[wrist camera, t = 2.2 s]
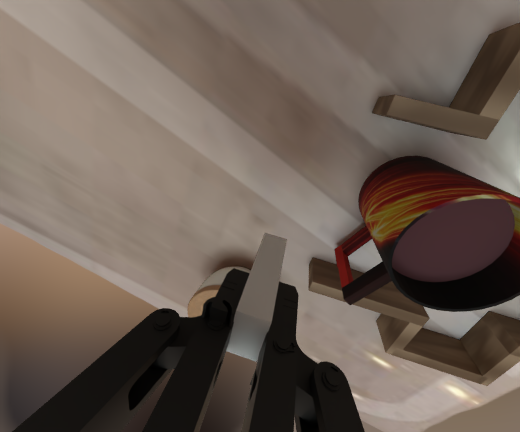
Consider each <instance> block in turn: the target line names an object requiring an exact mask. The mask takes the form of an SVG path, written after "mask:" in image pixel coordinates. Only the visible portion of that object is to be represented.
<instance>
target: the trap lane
mask: <svg viewBox="0 0 520 432" xmlns="http://www.w3.org/2000/svg"><path fill="white" fill-rule="evenodd" d="M519 90H520V23H517V24H515V25H512V26H510V27H507V28H505V29H502V30H500V31H497V32H495V33H492V34H490V35H489V36H488V38H487V40H486V42H485V43H484V45H483V47H482V49H481V51H480V52H479V54H478V56H477V58H476V60H475V61H474V63H473V65H472V67H471V69H470V70H469V72H468V74H467V76H466V78H465V80H464V81H463V83H462V85H461V87H460V89H459V90H458V92H457V94H456V96H455V98H454V99H453V101H452V103H451V105H450V107H449V108H448V107H444V106H439V105H435V104H431V103H427V102H423V101H419V100H414V99H410V98H406V97H402V96H398V95H391V96H383V97H379V98H378V100H377V103H376V105H375V108H374V110H373V112H372V113H373V114H377V115H381V116H385V117H389V118H393V119H397V120H402V121H406V122H410V123H414V124H418V125H422V126H426V127H430V128H434V129H438V130H442V131H446V132H450V133H455V134H460V135H465V136H470V137H475V138H480V139H487V138H488V136H489V135H490V133H491V132H492V130H493V129H494V127H495V126H496V124H497V123H498V121H499V120H500V118H501V117H502V115H503V114H504V112H505V111H506V109H507V108H508V106H509V105H510V103H511V102H512V100H513V99H514V97H515V96H516V94H517V93H518V91H519ZM351 272H352V277H353V281H354V280H355V279H357V278H358V277H360V276H361V275H363V274H364V273H362V272H358V271H355V270H352V269H351ZM309 291H312V292H315V293H318V294H322V295H325V296H328V297H331V298H334V299H337V300H340V301H344V302H346V301H345V300H344V299H343V293H342V287H341V281H340V275H339V269H338V267H337V265H335V264H332V263H329V262H325V261H322V260H319V259H316V258H312V260H311V262H310V264H309ZM353 305H356V306H359V307H363V308H366V309H369V310H372V311H375V312H378V313H382V314H381V315H380V317H379V318H378V319H377V321H376V322H377V325H378V329H379V332H380V335H381V339H382V342H383V345H384V349H385V352H386V353H388V354H391V355H394V356H397V357H400V358H403V359H406V360H409V361H412V362H415V363H418V364H421V365H424V366H427V367H430V368H433V369H436V370H439V371H442V372H445V373H448V374H451V375H454V376H457V377H460V378H464V379H467V380H470V381H473V382H476V383H479V384H483V385H486V386H488V385H489V384H490V383H492V382H493V381H494V380H496V379H497V378H498V377H500V376H501V375H502V374H504V373H505V372H506V371H508V370H509V369H510V368H511V367H513V366H514V365H515V364H517V363H518V362H519V361H520V321H519V320H516V319H513V318H510V317H506V316H503V315H500V314H496V313H493V312H490V311H489V312H488V313H487V314H486V315H485V316H484V317H483V318H482V319H481V320H480V321H479V322H478V323H477V324H476V325H475V326H474V327H473V328H472V329H470V330H469V331H468V332H467V333H466V334H465V335H464V336H463V337H462V338H461V339H460V340H458V339H455V338H452V337H449V336H446V335H442V334H439V333H436V332H433V331H430V330H427V329H424V328H422V327H423V325H424V324H425V323H426V322H427V321H428V320H429V316H428V314H427V313H426V311H425V309H424V307H423V306H422V305H419V304H417V303H415V302H413V301H411V300H410V299H408V298H407V297H405V296H404V295H403V294H402V293H401V292H400V291H399V290H398V289H397V288H396V286H395V285H394V283H393V282H389V283H388V284H386V285H384V286H383V287H381V288H379V289H378V290H376V291H374V292H373V293H371V294H369V295H368V296H366V297H364V298H363V299H361V300H359V301H357V302H355V303H354V304H353Z"/></svg>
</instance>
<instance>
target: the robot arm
mask: <svg viewBox="0 0 520 432" xmlns="http://www.w3.org/2000/svg"><path fill="white" fill-rule="evenodd" d="M286 241H287V239H284V238H281V237H277V236H274V235H271V234H267V233H265V234H264V237H263V239H262V242H261V245H260V247H259V250H258V253H257V255H256V258H255V261H254V263H253V266H252V269H251V272H250V273H248V272H245V271H242V270H239V269H235V268H233V269H232V270H231V271H229V272H228V273H227V275H226V277H225V279H224V281H223V282H222V284H221V287H220V288H219V290H218V292H217V294H216V296H215V297H212V298H210V299H208V300H207V301H206V302H205V303H204V304H203V311H202V315H200V316H197V317H179V314H178V313H177V312H176V311H175V310H172V309H166V308H163V309H159V310H156V311H154V312H153V313H151V314H150V315H149V316H147V317H146V318H145V319H144V320H143V321H142V322H140V323H139V324H138V325H137V326H136V327H135V328H133V329H132V330H131V331H130V332H129V333H128V334H126V335H125V336H124V337H123V338H122V339H121V340H119V341H118V342H117V343H116V344H115V345H113V346H112V347H111V348H110V349H109V350H108V351H106V352H105V353H104V354H103V355H102V356H100V357H99V358H98V359H97V360H96V361H95V362H93V363H92V364H91V365H90V366H89V367H88V368H86V369H85V370H84V371H83V372H82V373H81V374H79V375H78V376H77V377H76V378H75V379H74V380H72V381H71V382H70V383H69V384H68V385H66V386H65V387H64V388H63V389H62V390H61V391H59V392H58V393H57V394H56V395H55V396H54V397H52V398H51V399H50V400H49V401H48V402H46V403H45V404H44V405H43V406H42V407H41V408H39V409H38V410H37V411H36V412H35V413H34V414H32V415H31V416H30V417H29V418H28V419H27V420H25V421H24V422H23V423H22V424H21V425H20V426H18V427H17V428H16V429H15V430H14V431H12V432H121V431H122V430H123V429H124V428H125V427H126V425H127V424H128V423H129V422H130V421H131V419H132V418H133V417H134V416H135V414H136V413H137V412H138V410H139V409H140V408H141V407H142V406H143V405H144V403H145V402H146V401H147V400H148V398H149V397H150V396H151V395H152V394H153V392H154V391H155V390H156V389H157V388H158V386H159V385H160V384H161V383H162V381H163V380H164V379H165V378H166V377H167V375H168V374H169V373H170V372H171V370H172V369H175V370H174V371H173V374H172V375H171V377H170V379H169V381H168V383H167V385H166V387H165V389H164V391H163V393H162V395H161V397H160V398H159V400H158V402H157V404H156V406H155V408H154V410H153V412H152V414H151V416H150V418H149V420H148V422H147V424H146V425H145V427H144V429H143V431H142V432H199V430H200V427H201V424H202V421H203V418H204V415H205V412H206V410H207V407H208V404H209V401H210V398H211V395H212V392H213V389H214V386H215V383H216V381H217V377H218V375H219V372H220V369H221V366H222V362H223V359H224V355H225V353H226V351H228V352H231V353H234V354H236V355H239V356H242V357H245V358H248V359H250V360H253V361H256V362H257V361H258V362H257V367H256V370H255V373H254V375H253V378H252V381H251V383H250V384H251V389H250V394H249V398H248V403H247V408H246V412H245V417H244V421H243V427H242V430H241V432H293V431H294V415H295V423H296V430H297V432H364V428H363V426H362V422H361V419H360V416H359V413H358V410H357V407H356V404H355V401H354V399H353V396H352V393H351V390H350V387H349V384H348V381H347V379H346V377H345V375H344V373H343V372H342V371H341V370H340V369H339V367H337V366H336V365H334V364H333V363H330V362H320V363H319V364H317V363H316V362H315V361H313V360H312V359H310V358H309V357H307V356H306V355H305V354H304V353H303V352H302V351H301V349H300V348H299V346H298V344H297V341H296V324H297V309H298V293H297V290H296V288H295V287H294V286H291V285H288V284H285V283H281V282H279V279H280V274H281V268H282V263H283V257H284V252H285V246H286Z"/></svg>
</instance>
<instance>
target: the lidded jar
mask: <svg viewBox="0 0 520 432" xmlns="http://www.w3.org/2000/svg"><path fill="white" fill-rule="evenodd" d="M233 268H235V269H239V270H242V271H245V272H248V273H250V272H251V270H249V269H247V268H244V267H239V266H236V267H225V268H222V269H219V270H218V271H216V272H214V273H213V274H211V275H210V276H209V277H208V278H207V279H206V280H205V281H204V282H203V283H202V285H201V286H200V287H199V289H198V290H197V292H196V293H195V294H194V295H193V297H192V298H191V300H190V302H189V304H188V316H189V317H197V316H200V315H202V311H203V304H204V303H205V302H206V301H207V300H208V299H210V298H212V297H215V296H216V294H217V292H218V290H219V288H220V287H221V284H222V282H223V281H224V279H225V277H226V275H227V273H228V272H229V271H231V270H232V269H233Z"/></svg>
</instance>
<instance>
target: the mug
mask: <svg viewBox="0 0 520 432" xmlns="http://www.w3.org/2000/svg"><path fill="white" fill-rule="evenodd" d="M359 209H360V212H361V215H362V217H363V219H364V222H365V224H366V226H365V227H364V228H362V229H361V230H360V231H359V232H357V233H356V234H355V235H353V236H352V237H351V238H349V239H348V240H347V241H345V242H344V243H343V244H342V245H340V246H339V247H337V248H336V249H335V255H336V261H337V267H338V269H339V275H340V281H341V287H342V293H343V299H344V300H345V301H346V302H347V303H348V304H349V305H352V304H354V303H355V302H357V301H359V300H361V299H363V298H364V297H366V296H368V295H369V294H371V293H373V292H374V291H376V290H378V289H379V288H381V287H383V286H384V285H386V284H388V283H389V282H391V281H392V282H393V283H394V285H395V286H396V288H397V289H398V290H399V291H400V292H401V293H402V294H403V295H404V296H405V297H407V298H408V299H410V300H411V301H413V302H415V303H417V304H419V305H422V306H424V307H428V308H432V309H436V310H442V311H451V312H457V311H473V310H480V309H485V308H489V307H492V306H496V305H499V304H502V303H504V302H507V301H509V300H512V299H514V298H515V297H517V296H519V295H520V198H519V197H517V196H514V195H512V194H510V193H508V192H505V191H503V190H501V189H499V188H496V187H494V186H492V185H489V184H487V183H485V182H483V181H480V180H478V179H476V178H474V177H471V176H469V175H467V174H465V173H462V172H460V171H458V170H455V169H453V168H451V167H449V166H446V165H444V164H442V163H440V162H437V161H435V160H432V159H430V158H427V157H422V156H405V157H400V158H396V159H394V160H391V161H388V162H387V163H385V164H383V165H381V166H380V167H378V168H377V169H376V170H375V171H373V172H372V173H371V175H370V176H369V177H368V178H367V179H366V181H365V182H364V184H363V186H362V188H361V191H360V194H359ZM371 239H373V241H374V243H375V245H376V248H377V250H378V252H379V254H380V256H381V258H382V261H383V262H381V263H380V264H378V265H377V266H375V267H373V268H372V269H370V270H369V271H367V272H366V273H364V274H363V275H361V276H360V277H358V278H357V279H355V280H354V281H353V277H352V272H351V268H350V264H349V260H348V256H349V255H350V254H352V253H353V252H354V251H356V250H357V249H358V248H360V247H361V246H363V245H364V244H365V243H367V242H368V241H369V240H371Z"/></svg>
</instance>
